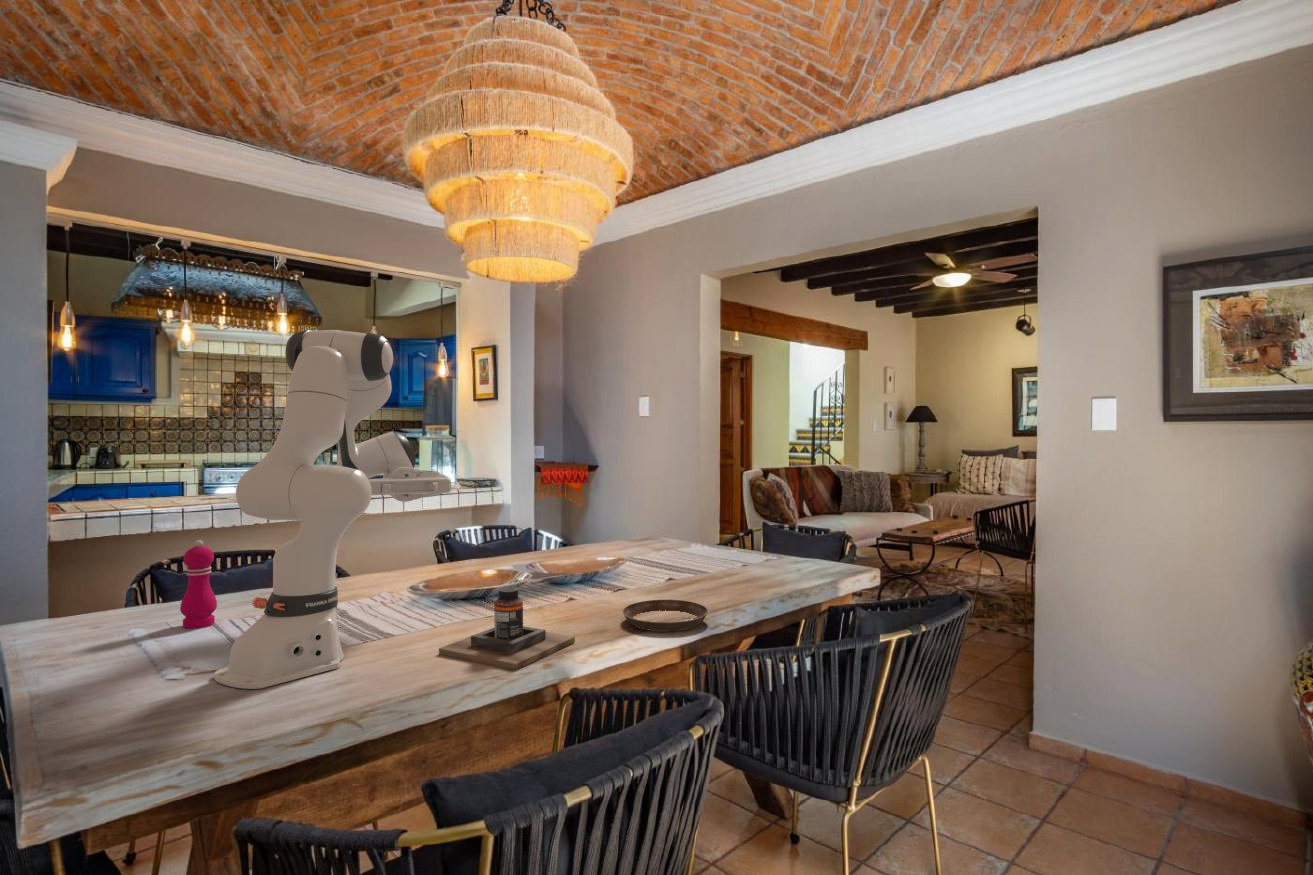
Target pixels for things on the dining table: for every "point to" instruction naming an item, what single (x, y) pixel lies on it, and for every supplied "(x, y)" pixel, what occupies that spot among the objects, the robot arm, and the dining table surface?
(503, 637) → the supplement bottle
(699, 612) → the plant saucer
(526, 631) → the dock
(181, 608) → the pepper mill
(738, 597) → the dining table surface
